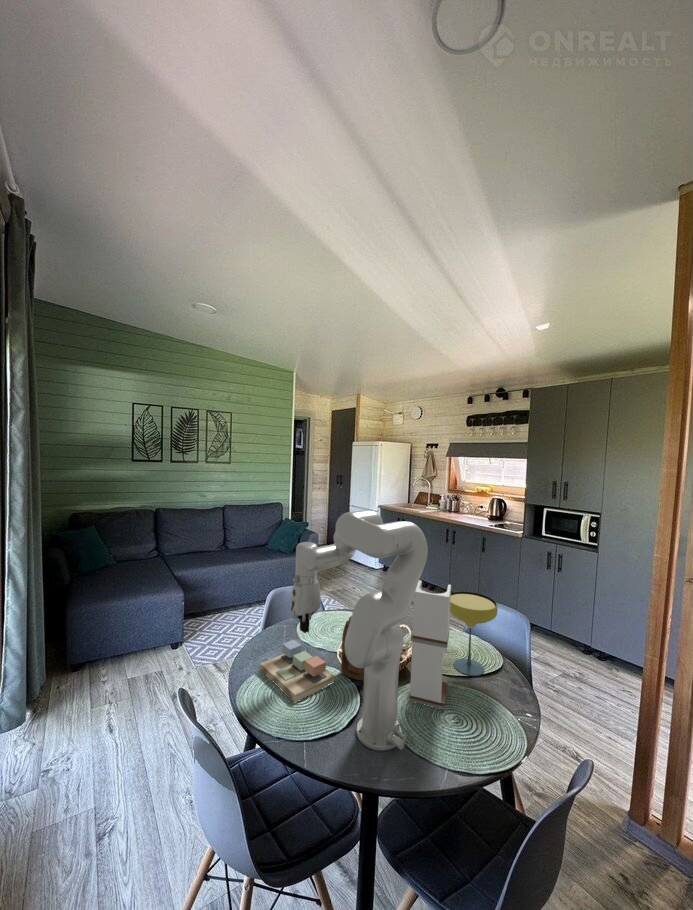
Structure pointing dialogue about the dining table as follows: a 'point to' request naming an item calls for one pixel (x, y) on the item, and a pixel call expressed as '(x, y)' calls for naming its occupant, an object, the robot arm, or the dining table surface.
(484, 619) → the cocktail glass
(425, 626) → the white square pillar
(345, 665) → the dark brown curved piece
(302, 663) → the sage button
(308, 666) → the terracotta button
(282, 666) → the wooden sorting board
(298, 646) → the grey square block
